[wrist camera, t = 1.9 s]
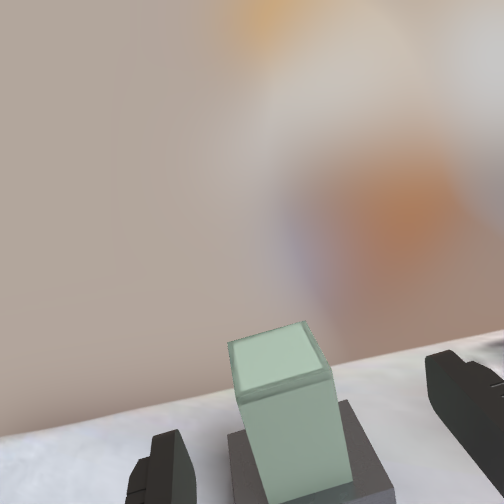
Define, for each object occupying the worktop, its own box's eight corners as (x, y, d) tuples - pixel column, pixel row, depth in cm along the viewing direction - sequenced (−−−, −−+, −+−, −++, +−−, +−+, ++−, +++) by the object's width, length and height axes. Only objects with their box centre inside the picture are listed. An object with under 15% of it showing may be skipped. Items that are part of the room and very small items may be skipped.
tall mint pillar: (269, 506, 25) (235, 397, 22) (256, 438, 31) (227, 342, 27) (353, 480, 26) (331, 370, 22) (325, 418, 31) (305, 320, 28)
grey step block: (253, 575, 26) (221, 490, 23) (239, 470, 33) (214, 395, 30) (399, 529, 26) (387, 440, 23) (353, 435, 34) (339, 359, 31)
